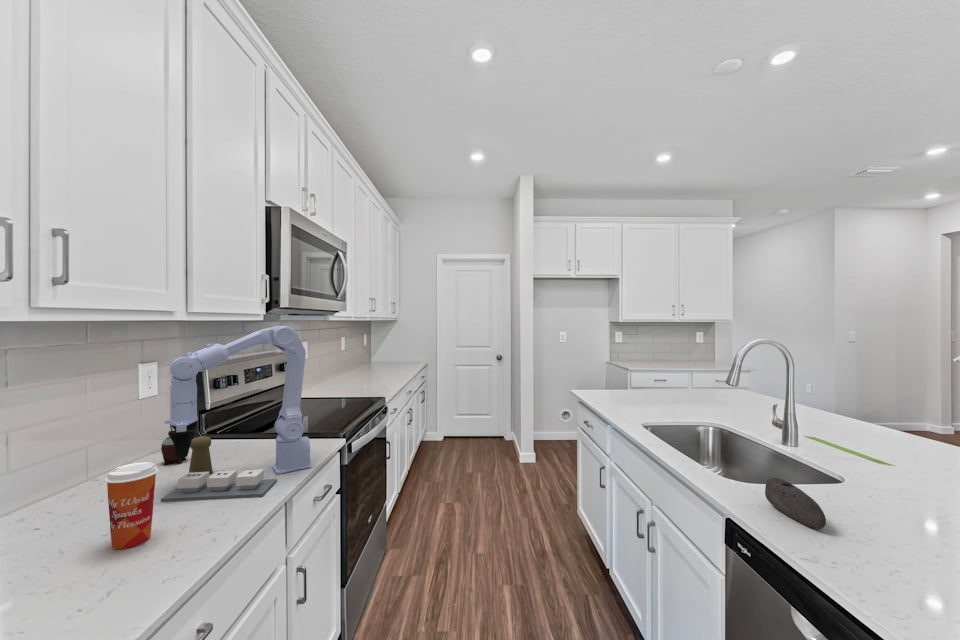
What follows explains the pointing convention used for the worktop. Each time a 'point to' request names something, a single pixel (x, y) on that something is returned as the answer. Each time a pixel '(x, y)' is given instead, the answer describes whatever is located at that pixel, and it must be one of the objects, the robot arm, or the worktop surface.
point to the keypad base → (220, 492)
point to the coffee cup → (131, 503)
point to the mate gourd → (170, 451)
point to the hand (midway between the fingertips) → (183, 453)
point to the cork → (201, 455)
